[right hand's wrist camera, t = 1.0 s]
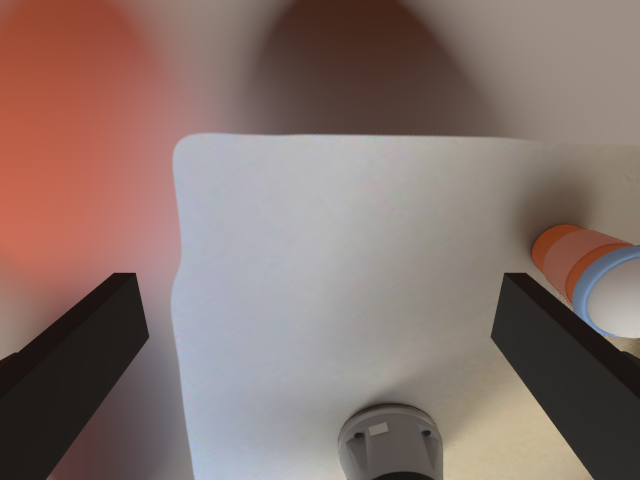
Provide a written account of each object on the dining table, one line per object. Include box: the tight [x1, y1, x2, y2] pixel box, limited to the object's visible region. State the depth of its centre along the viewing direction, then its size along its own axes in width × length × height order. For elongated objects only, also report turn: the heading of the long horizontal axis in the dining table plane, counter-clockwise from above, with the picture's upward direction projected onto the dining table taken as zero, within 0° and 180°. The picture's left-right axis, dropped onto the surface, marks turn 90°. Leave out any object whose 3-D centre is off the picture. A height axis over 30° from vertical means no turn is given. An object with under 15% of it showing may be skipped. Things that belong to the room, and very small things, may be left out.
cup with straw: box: [532, 224, 640, 338], centre depth 33 cm, size 9×9×18 cm
